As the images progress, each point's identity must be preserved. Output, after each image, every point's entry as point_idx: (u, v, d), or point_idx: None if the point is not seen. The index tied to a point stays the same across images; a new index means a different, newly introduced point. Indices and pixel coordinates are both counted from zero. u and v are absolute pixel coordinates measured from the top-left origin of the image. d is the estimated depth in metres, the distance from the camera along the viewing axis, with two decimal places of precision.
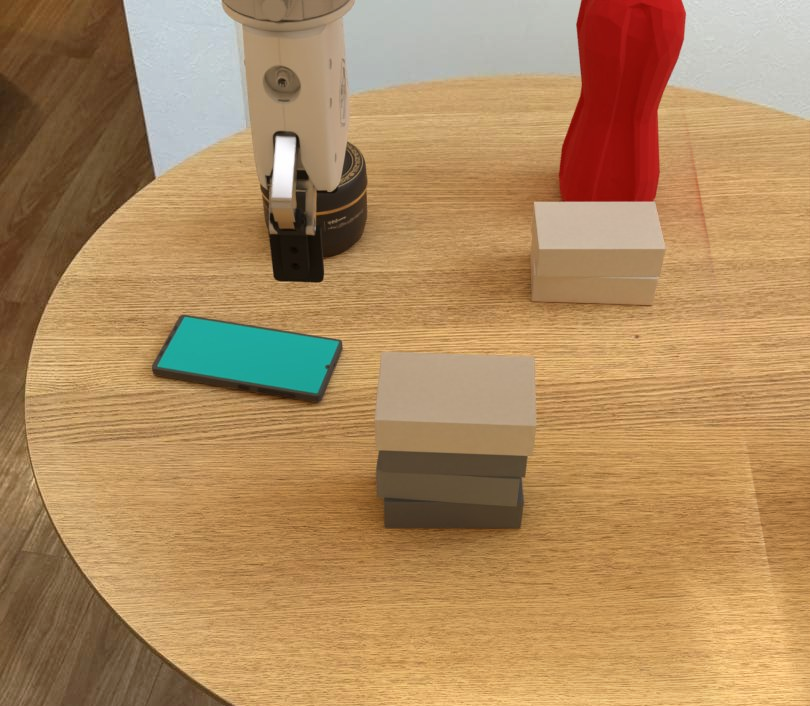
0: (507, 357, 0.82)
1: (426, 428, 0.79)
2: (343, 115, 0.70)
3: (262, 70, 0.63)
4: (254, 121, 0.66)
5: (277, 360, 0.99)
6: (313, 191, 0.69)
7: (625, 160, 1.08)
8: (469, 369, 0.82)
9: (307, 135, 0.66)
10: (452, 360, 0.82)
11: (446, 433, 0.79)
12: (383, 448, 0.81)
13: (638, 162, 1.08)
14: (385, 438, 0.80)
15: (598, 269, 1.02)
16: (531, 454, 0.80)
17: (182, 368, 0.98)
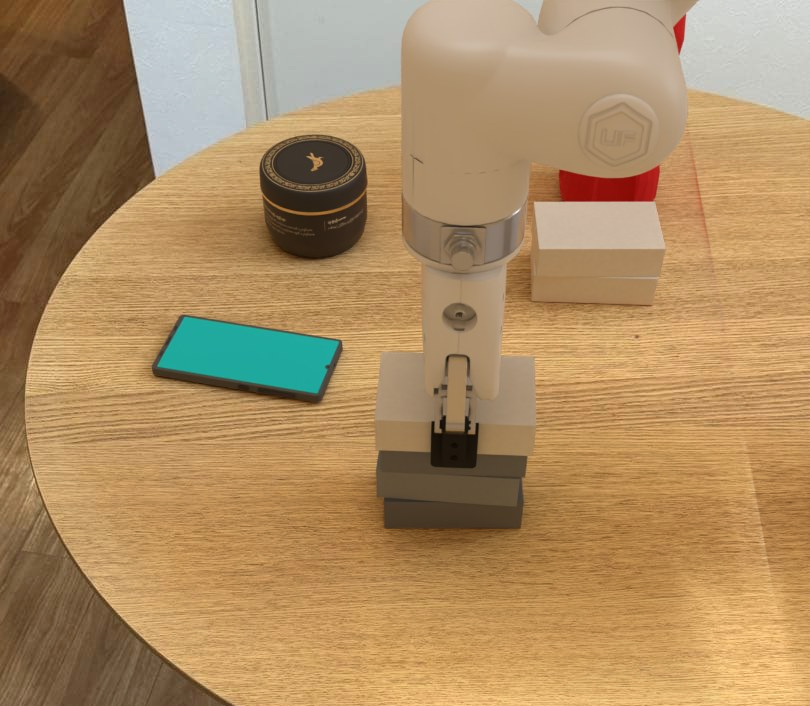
0: (507, 357, 0.82)
1: (426, 428, 0.79)
2: None
3: (443, 306, 0.69)
4: (429, 345, 0.71)
5: (277, 360, 0.99)
6: (476, 399, 0.76)
7: None
8: None
9: (478, 357, 0.72)
10: None
11: None
12: (383, 448, 0.81)
13: None
14: (385, 438, 0.80)
15: (598, 269, 1.02)
16: (531, 454, 0.80)
17: (182, 368, 0.98)
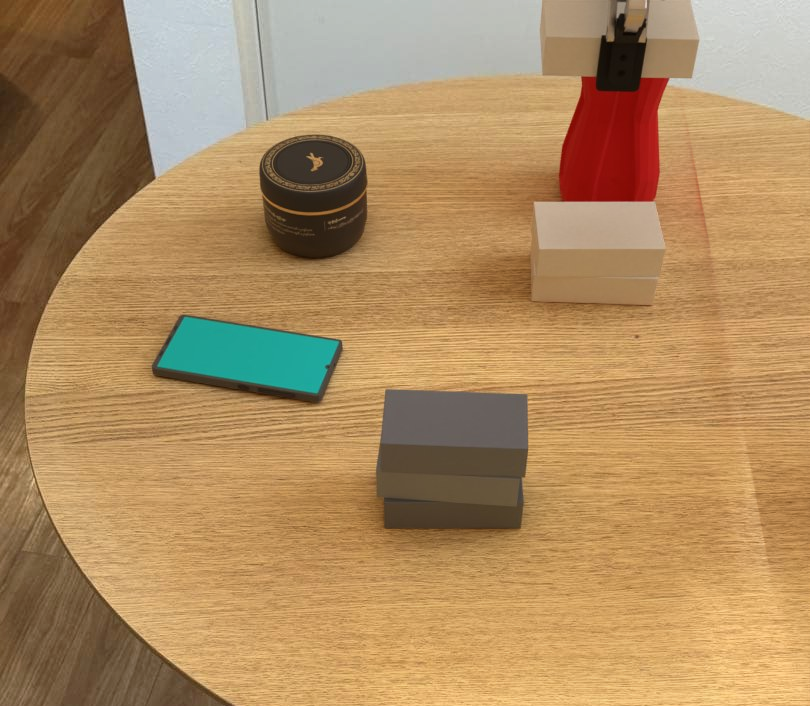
0: None
1: (594, 46, 0.83)
2: None
3: None
4: None
5: (277, 360, 0.99)
6: (648, 3, 0.80)
7: (626, 160, 1.08)
8: None
9: None
10: None
11: None
12: (550, 73, 0.85)
13: (638, 162, 1.08)
14: (553, 60, 0.84)
15: (598, 269, 1.02)
16: (690, 76, 0.85)
17: (182, 368, 0.98)
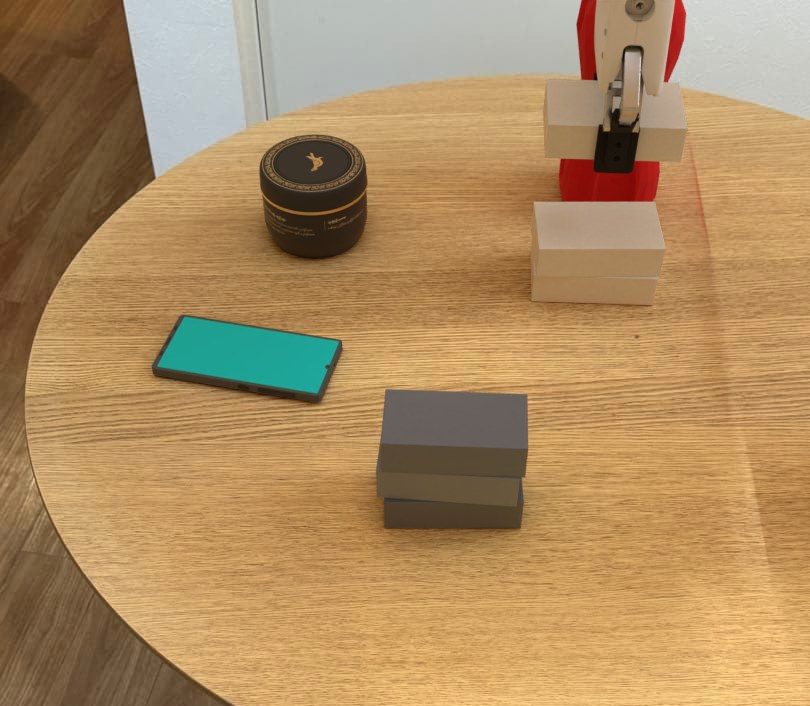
0: None
1: (592, 133, 0.92)
2: None
3: None
4: (610, 37, 0.84)
5: (277, 360, 0.99)
6: (641, 98, 0.89)
7: None
8: None
9: (651, 48, 0.85)
10: None
11: None
12: (552, 155, 0.93)
13: (638, 162, 1.08)
14: (555, 144, 0.93)
15: (598, 269, 1.02)
16: (680, 160, 0.93)
17: (182, 368, 0.98)
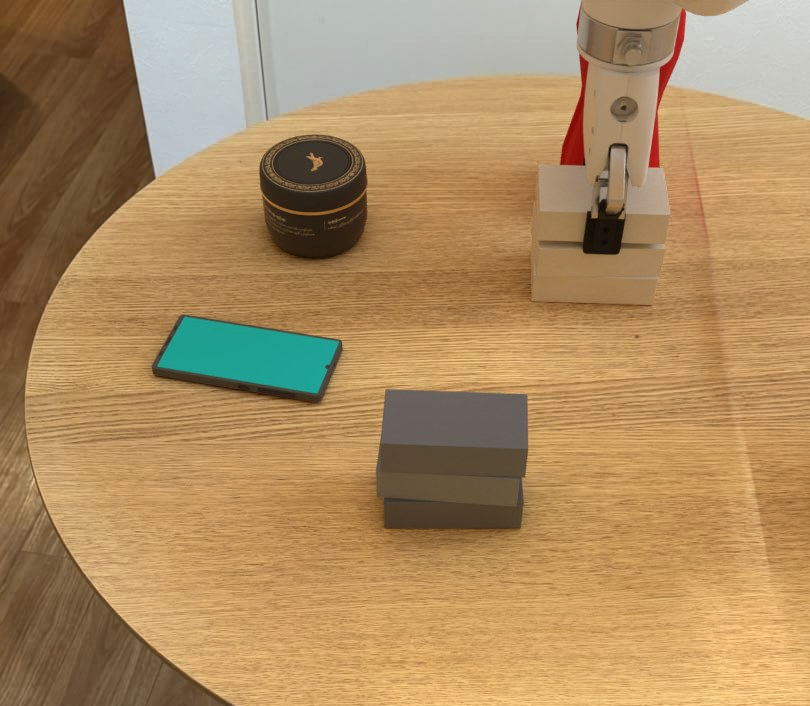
0: None
1: (581, 218, 0.98)
2: None
3: (612, 100, 0.88)
4: (597, 136, 0.91)
5: (277, 360, 0.99)
6: (626, 188, 0.95)
7: None
8: None
9: (635, 146, 0.91)
10: None
11: None
12: (543, 238, 1.00)
13: None
14: (546, 228, 0.99)
15: (598, 269, 1.02)
16: (663, 242, 0.99)
17: (182, 368, 0.98)
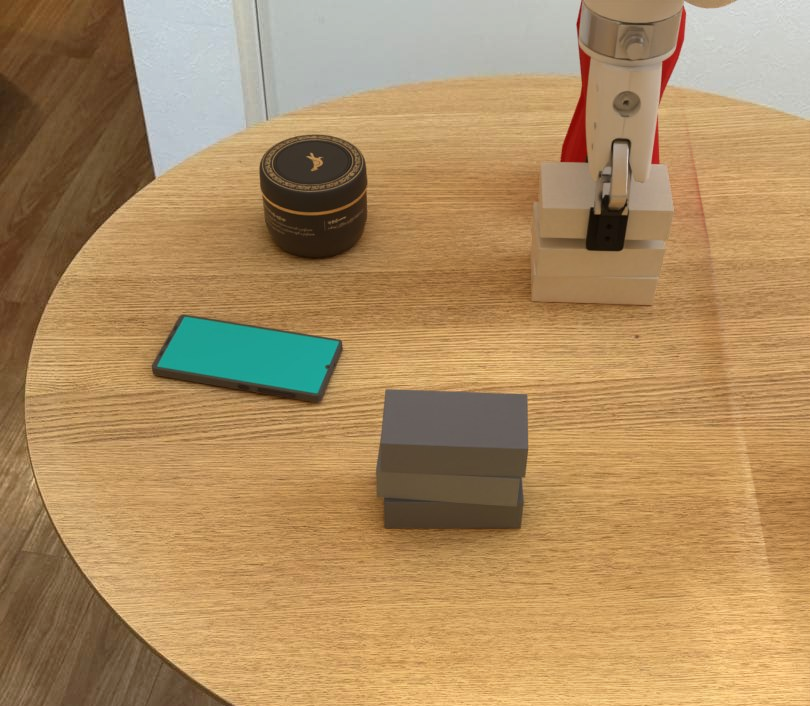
0: None
1: (584, 215, 0.97)
2: None
3: (614, 94, 0.88)
4: (599, 131, 0.90)
5: (277, 360, 0.99)
6: (629, 184, 0.94)
7: None
8: None
9: (637, 141, 0.90)
10: None
11: None
12: (546, 235, 0.99)
13: None
14: (549, 225, 0.98)
15: (598, 269, 1.02)
16: (667, 239, 0.99)
17: (182, 368, 0.98)
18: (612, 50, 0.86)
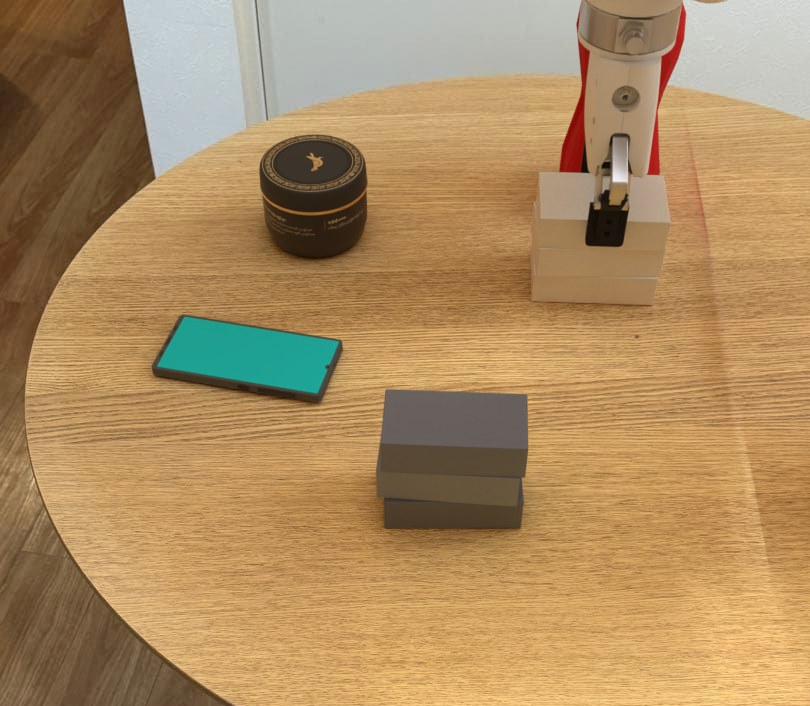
0: None
1: (581, 226, 0.98)
2: None
3: (613, 89, 0.88)
4: (598, 126, 0.90)
5: (277, 360, 0.99)
6: (629, 177, 0.93)
7: None
8: None
9: (636, 136, 0.90)
10: None
11: None
12: (544, 245, 1.00)
13: None
14: (547, 236, 0.99)
15: (598, 269, 1.02)
16: (663, 249, 1.00)
17: (182, 368, 0.98)
18: (611, 44, 0.86)
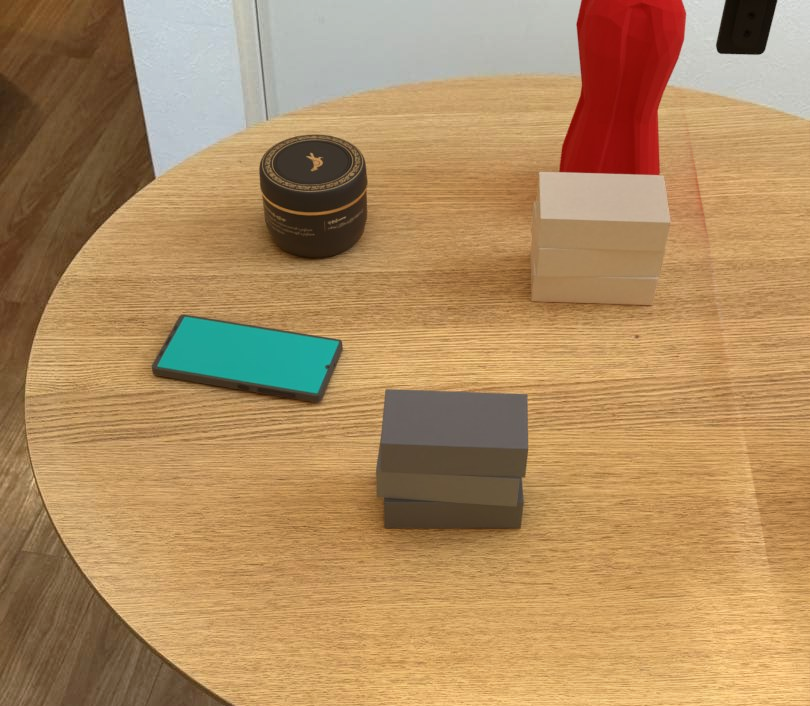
0: (641, 175, 1.02)
1: (581, 226, 0.98)
2: None
3: None
4: None
5: (277, 360, 0.99)
6: None
7: (626, 160, 1.08)
8: (611, 183, 1.01)
9: None
10: (597, 178, 1.02)
11: (597, 230, 0.99)
12: (544, 245, 1.00)
13: (638, 162, 1.08)
14: (547, 236, 0.99)
15: (598, 269, 1.02)
16: (663, 249, 1.00)
17: (182, 368, 0.98)
18: None
